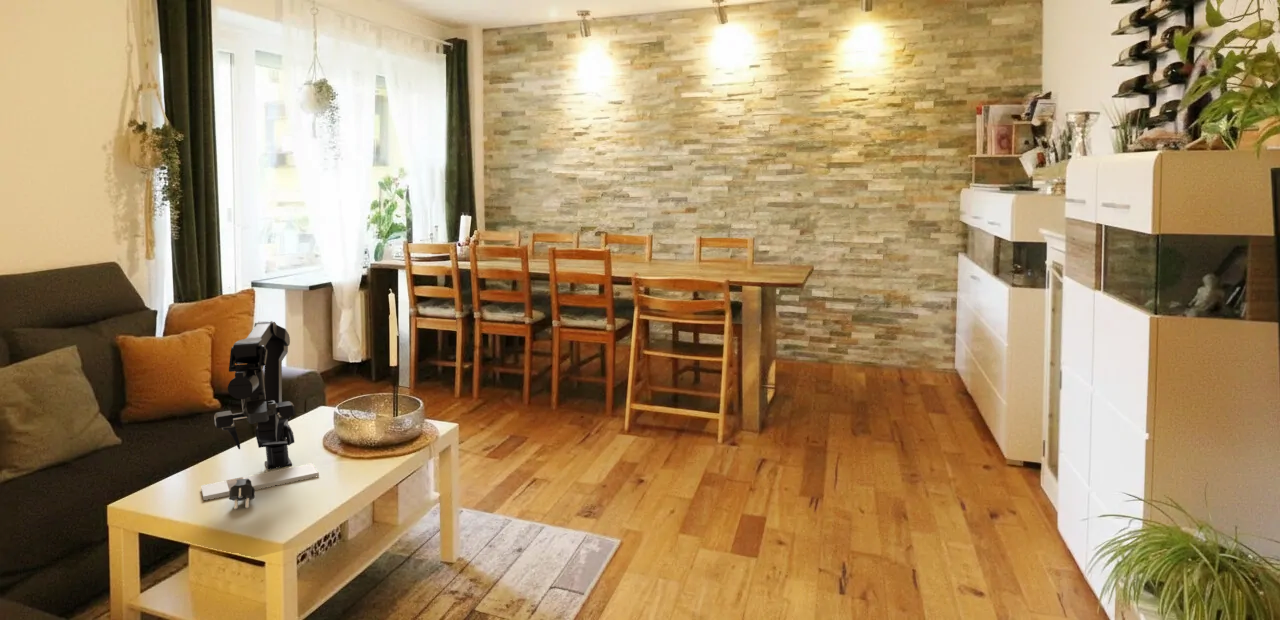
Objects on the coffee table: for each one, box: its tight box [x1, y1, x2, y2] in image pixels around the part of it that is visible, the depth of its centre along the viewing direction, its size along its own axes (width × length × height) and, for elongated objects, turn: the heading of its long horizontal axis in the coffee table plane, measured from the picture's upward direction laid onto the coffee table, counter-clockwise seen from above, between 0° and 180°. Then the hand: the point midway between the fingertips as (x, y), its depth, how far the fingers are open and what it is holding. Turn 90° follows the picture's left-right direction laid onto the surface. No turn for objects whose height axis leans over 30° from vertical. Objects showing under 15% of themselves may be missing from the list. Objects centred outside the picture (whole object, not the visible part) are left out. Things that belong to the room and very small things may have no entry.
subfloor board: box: [200, 462, 320, 501], centre depth 209 cm, size 8×28×1 cm, turn 123°
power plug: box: [228, 478, 256, 511], centre depth 198 cm, size 6×8×12 cm
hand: (258, 445), depth 204 cm, fingers open, 9 cm apart
